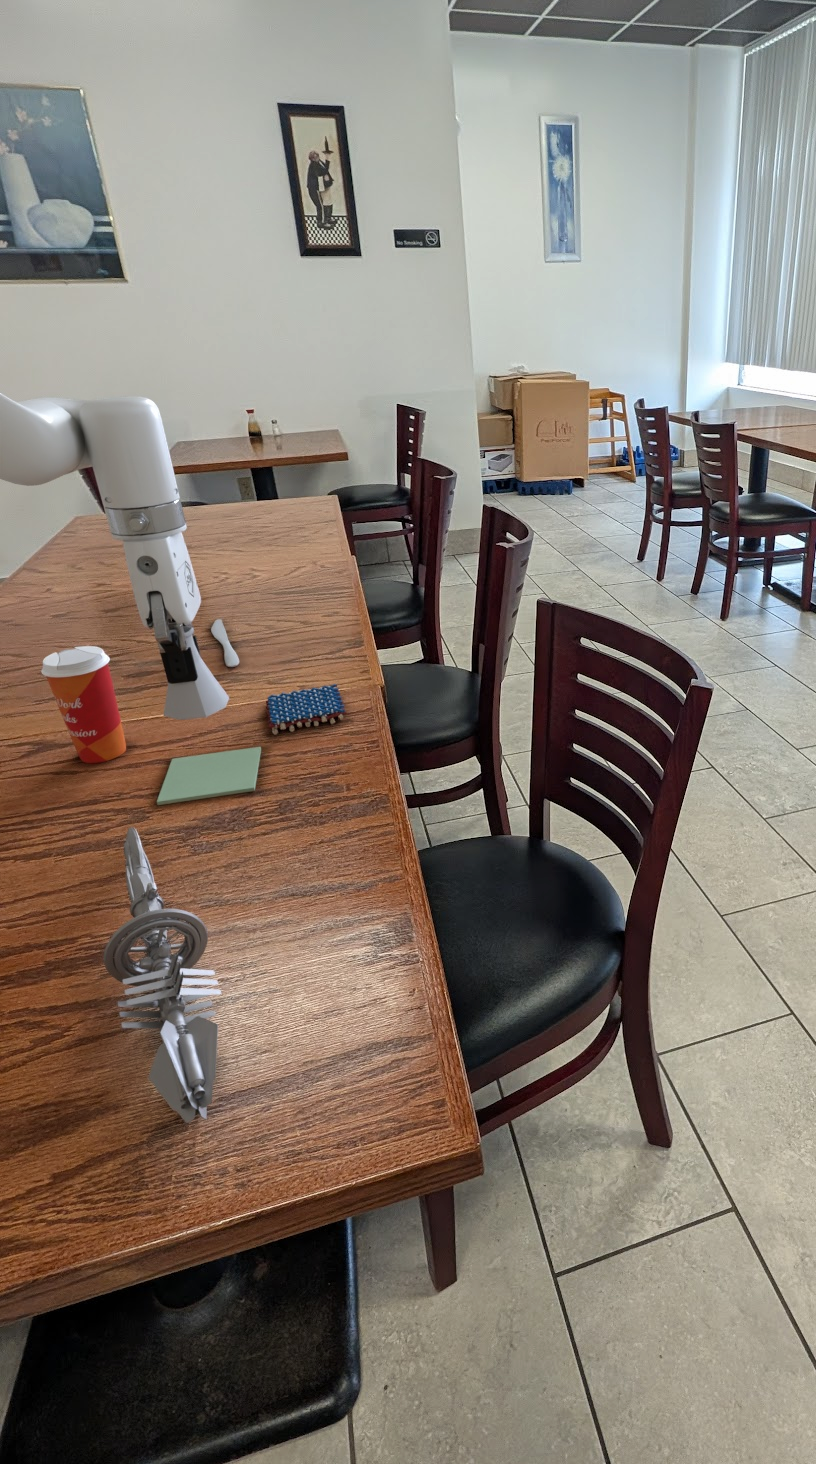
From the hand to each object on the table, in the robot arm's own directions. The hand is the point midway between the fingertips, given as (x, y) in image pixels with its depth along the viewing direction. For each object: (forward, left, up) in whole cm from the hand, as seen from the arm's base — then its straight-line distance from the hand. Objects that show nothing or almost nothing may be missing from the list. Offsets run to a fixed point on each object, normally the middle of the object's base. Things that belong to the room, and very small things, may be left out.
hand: (185, 673), depth 97 cm
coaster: (0, 0, -14) cm, 14 cm away
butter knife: (-4, +50, -14) cm, 52 cm away
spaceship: (+1, -37, -14) cm, 40 cm away
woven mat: (+11, +15, -14) cm, 23 cm away
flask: (0, 0, -5) cm, 5 cm away
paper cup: (-15, +11, -14) cm, 23 cm away
